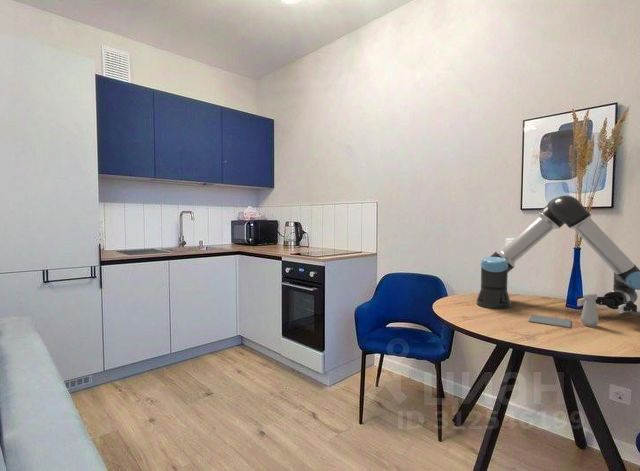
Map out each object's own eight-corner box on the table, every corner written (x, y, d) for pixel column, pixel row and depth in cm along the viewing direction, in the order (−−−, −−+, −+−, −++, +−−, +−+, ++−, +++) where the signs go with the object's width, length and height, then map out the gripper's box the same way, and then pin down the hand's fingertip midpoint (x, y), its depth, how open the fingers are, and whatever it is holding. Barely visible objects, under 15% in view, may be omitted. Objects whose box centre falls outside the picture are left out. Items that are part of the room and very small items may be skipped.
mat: (528, 321, 142) (528, 320, 142) (531, 315, 151) (531, 314, 151) (570, 328, 133) (570, 326, 133) (570, 321, 143) (570, 319, 143)
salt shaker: (581, 326, 136) (582, 293, 135) (578, 322, 141) (579, 291, 140) (600, 328, 133) (601, 295, 133) (596, 324, 138) (597, 292, 138)
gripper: (654, 314, 142) (638, 322, 130) (582, 302, 162) (562, 308, 151) (655, 296, 141) (638, 303, 130) (583, 286, 162) (563, 291, 150)
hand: (597, 306), depth 140 cm, fingers open, 13 cm apart
